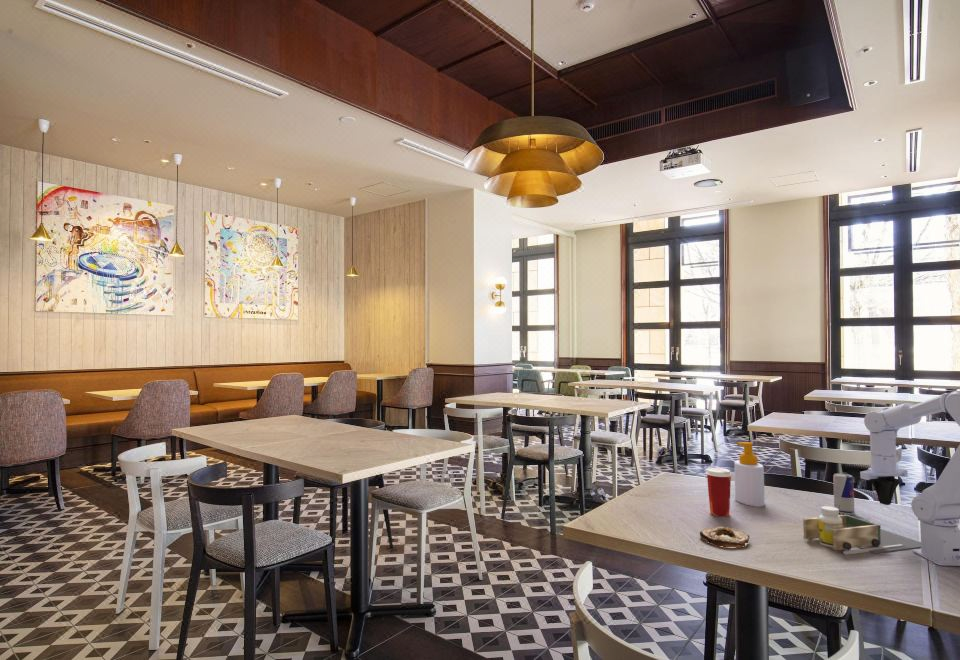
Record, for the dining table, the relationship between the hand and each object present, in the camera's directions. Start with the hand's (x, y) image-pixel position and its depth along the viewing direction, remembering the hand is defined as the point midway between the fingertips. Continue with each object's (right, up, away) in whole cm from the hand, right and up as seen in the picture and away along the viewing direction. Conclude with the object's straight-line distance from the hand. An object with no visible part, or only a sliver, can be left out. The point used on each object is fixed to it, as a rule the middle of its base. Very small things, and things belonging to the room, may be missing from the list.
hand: (885, 504), depth 150 cm
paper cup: (-36, -11, +23) cm, 44 cm away
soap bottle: (-20, -11, +37) cm, 43 cm away
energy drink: (+4, -11, +23) cm, 26 cm away
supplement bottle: (-18, -10, -5) cm, 21 cm away
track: (-8, -9, -2) cm, 12 cm away
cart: (-15, -9, -4) cm, 18 cm away
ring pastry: (-45, -10, -1) cm, 46 cm away
